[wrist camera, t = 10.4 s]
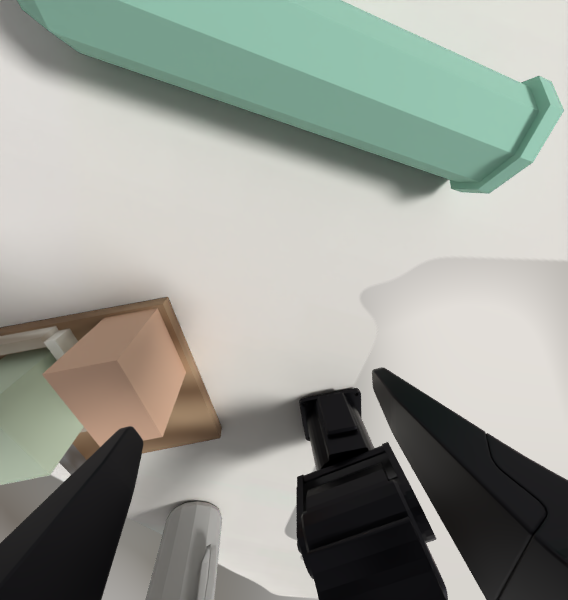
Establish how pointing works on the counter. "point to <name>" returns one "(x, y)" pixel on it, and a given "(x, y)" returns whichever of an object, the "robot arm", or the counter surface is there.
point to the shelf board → (70, 329)
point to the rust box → (121, 376)
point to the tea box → (32, 418)
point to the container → (325, 77)
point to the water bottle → (187, 554)
